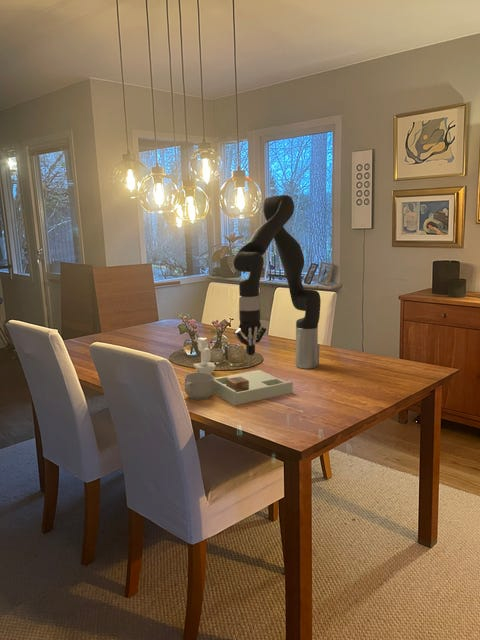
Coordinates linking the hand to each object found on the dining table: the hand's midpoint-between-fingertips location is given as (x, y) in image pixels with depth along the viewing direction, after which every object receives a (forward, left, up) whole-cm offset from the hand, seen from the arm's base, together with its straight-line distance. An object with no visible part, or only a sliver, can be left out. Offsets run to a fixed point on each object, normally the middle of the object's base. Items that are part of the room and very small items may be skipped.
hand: (250, 354), depth 195 cm
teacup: (+20, -5, -15) cm, 25 cm away
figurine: (+4, -31, -15) cm, 35 cm away
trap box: (-1, -4, -15) cm, 15 cm away
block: (+7, +1, -12) cm, 13 cm away
